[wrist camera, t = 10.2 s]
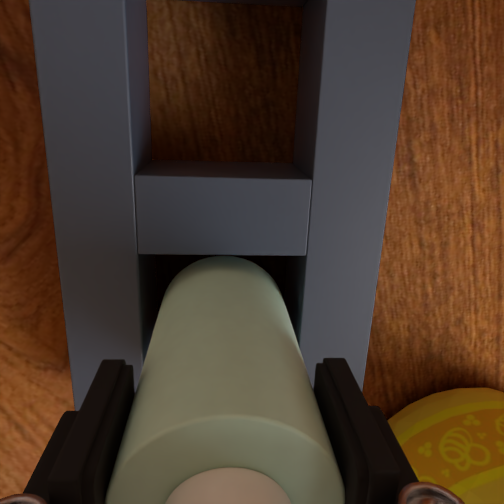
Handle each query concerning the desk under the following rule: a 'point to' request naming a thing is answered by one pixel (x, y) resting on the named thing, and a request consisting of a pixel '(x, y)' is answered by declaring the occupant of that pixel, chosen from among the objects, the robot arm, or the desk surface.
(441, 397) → the mug
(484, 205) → the desk surface
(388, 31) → the hole block
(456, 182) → the desk surface
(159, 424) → the bottle
